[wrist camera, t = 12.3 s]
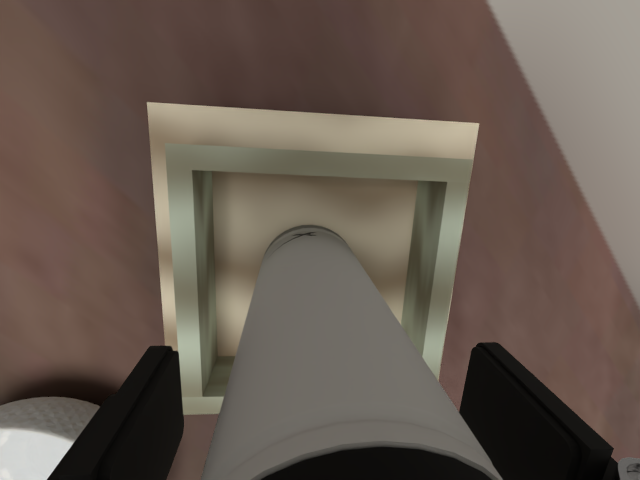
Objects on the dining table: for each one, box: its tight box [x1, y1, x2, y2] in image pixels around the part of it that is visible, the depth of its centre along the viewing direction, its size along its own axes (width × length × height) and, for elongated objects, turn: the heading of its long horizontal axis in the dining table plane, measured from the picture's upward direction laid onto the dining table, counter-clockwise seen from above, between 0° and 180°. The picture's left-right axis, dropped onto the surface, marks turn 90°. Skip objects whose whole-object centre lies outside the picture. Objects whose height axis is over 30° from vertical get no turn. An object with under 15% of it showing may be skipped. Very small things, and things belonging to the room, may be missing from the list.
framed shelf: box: [147, 102, 479, 415], centre depth 23 cm, size 20×20×10 cm
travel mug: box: [201, 225, 503, 480], centre depth 12 cm, size 6×7×20 cm
